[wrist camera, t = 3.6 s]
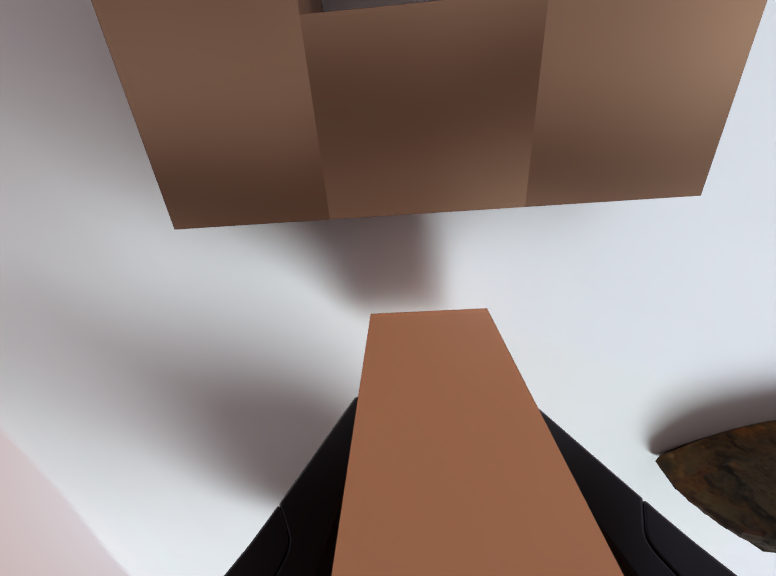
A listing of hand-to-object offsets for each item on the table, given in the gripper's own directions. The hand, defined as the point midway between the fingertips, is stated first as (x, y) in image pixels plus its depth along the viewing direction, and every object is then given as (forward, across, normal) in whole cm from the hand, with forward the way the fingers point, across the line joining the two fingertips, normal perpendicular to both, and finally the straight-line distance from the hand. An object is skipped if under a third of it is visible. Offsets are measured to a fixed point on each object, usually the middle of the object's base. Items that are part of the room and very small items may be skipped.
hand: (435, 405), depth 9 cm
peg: (+2, 0, 0) cm, 2 cm away
